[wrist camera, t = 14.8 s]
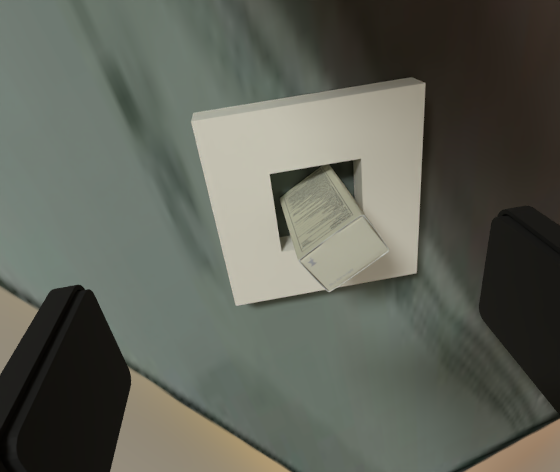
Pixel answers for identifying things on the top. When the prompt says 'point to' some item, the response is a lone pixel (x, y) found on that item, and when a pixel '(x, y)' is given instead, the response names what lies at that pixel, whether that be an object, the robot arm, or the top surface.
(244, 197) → the box stand
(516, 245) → the robot arm
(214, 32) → the top surface
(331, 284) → the skincare box
